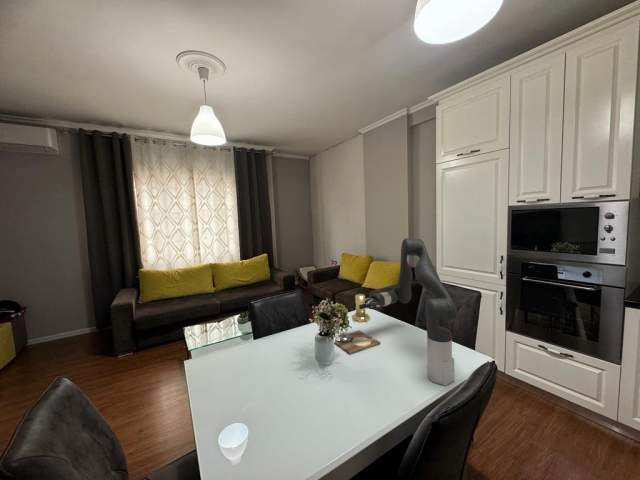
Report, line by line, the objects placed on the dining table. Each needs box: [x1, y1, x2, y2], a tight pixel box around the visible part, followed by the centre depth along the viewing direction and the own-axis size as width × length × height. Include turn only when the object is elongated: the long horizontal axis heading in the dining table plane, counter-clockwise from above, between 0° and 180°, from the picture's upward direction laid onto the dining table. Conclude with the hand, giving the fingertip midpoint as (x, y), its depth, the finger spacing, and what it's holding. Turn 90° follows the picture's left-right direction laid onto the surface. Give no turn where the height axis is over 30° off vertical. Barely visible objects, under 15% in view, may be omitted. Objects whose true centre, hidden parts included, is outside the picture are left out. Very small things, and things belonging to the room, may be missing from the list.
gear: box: [338, 331, 353, 344], centre depth 141 cm, size 10×9×4 cm
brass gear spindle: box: [351, 293, 371, 324], centre depth 137 cm, size 10×10×13 cm
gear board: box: [334, 329, 381, 356], centre depth 140 cm, size 18×20×1 cm
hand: (356, 305), depth 135 cm, fingers closed on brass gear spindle, 5 cm apart
